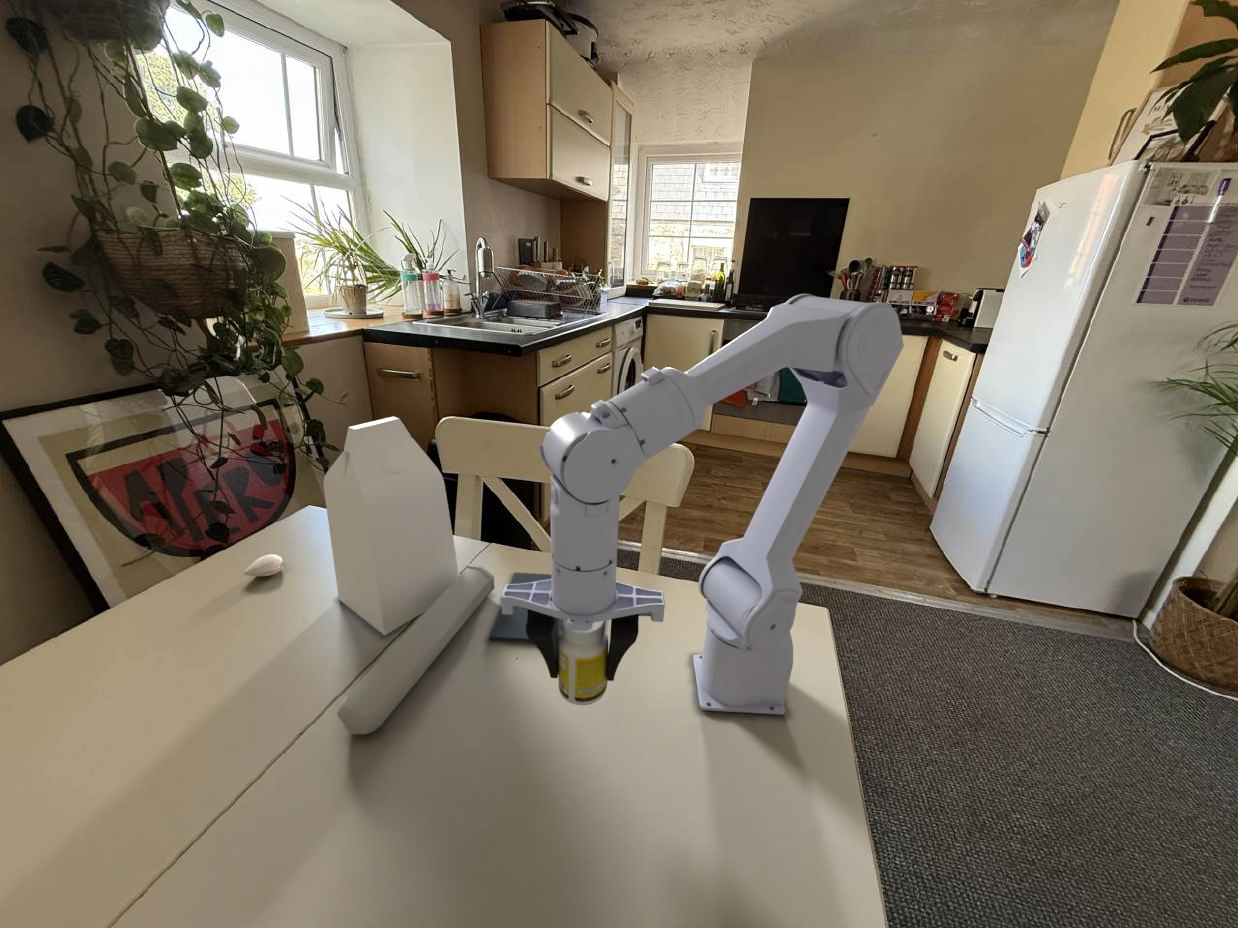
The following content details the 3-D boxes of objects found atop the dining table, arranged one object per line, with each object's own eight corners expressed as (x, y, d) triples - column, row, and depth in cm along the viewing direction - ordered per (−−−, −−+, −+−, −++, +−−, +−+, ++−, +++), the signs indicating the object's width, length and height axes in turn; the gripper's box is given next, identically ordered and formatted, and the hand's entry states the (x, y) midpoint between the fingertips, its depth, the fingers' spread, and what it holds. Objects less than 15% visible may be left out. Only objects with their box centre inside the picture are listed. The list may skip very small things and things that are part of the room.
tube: (375, 723, 48) (499, 574, 70) (328, 697, 48) (466, 557, 70) (369, 754, 50) (490, 601, 72) (324, 729, 50) (458, 584, 73)
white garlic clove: (288, 573, 75) (285, 558, 74) (249, 587, 71) (245, 572, 70) (279, 561, 77) (275, 547, 76) (241, 575, 74) (236, 560, 73)
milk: (415, 561, 79) (393, 403, 69) (461, 590, 73) (445, 421, 63) (338, 599, 70) (300, 423, 60) (384, 635, 64) (350, 446, 54)
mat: (604, 580, 76) (604, 577, 76) (598, 646, 64) (598, 642, 63) (514, 575, 77) (514, 572, 76) (489, 640, 64) (489, 636, 63)
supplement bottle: (614, 678, 50) (618, 611, 47) (593, 714, 46) (595, 644, 43) (573, 662, 52) (573, 596, 48) (549, 695, 48) (547, 626, 44)
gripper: (488, 575, 39) (497, 701, 44) (671, 584, 39) (659, 709, 44) (508, 530, 46) (514, 644, 51) (665, 537, 46) (655, 651, 51)
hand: (582, 671), depth 48 cm, fingers closed on supplement bottle, 5 cm apart
